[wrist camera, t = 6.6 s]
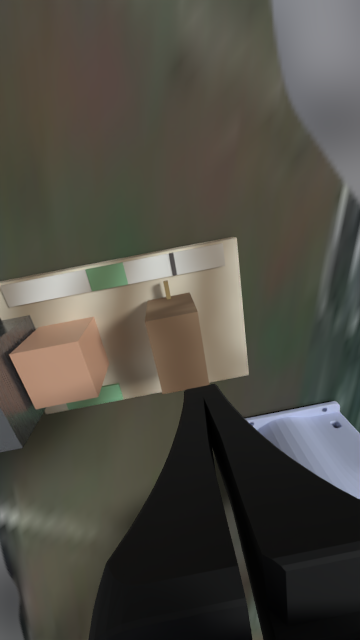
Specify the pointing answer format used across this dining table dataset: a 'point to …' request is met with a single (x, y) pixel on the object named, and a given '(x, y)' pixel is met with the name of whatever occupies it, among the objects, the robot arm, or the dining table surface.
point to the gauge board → (140, 310)
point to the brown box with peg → (176, 342)
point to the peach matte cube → (62, 363)
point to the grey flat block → (15, 388)
